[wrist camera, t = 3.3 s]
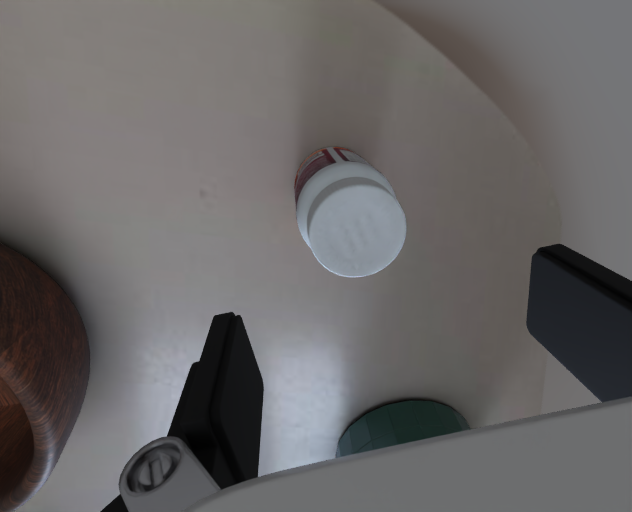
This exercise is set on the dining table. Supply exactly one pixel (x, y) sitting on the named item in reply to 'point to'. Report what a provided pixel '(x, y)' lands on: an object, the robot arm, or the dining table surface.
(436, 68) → the dining table surface
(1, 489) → the wooden bowl
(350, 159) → the pill bottle
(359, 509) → the robot arm
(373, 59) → the dining table surface
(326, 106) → the dining table surface
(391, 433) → the green faceted bowl
